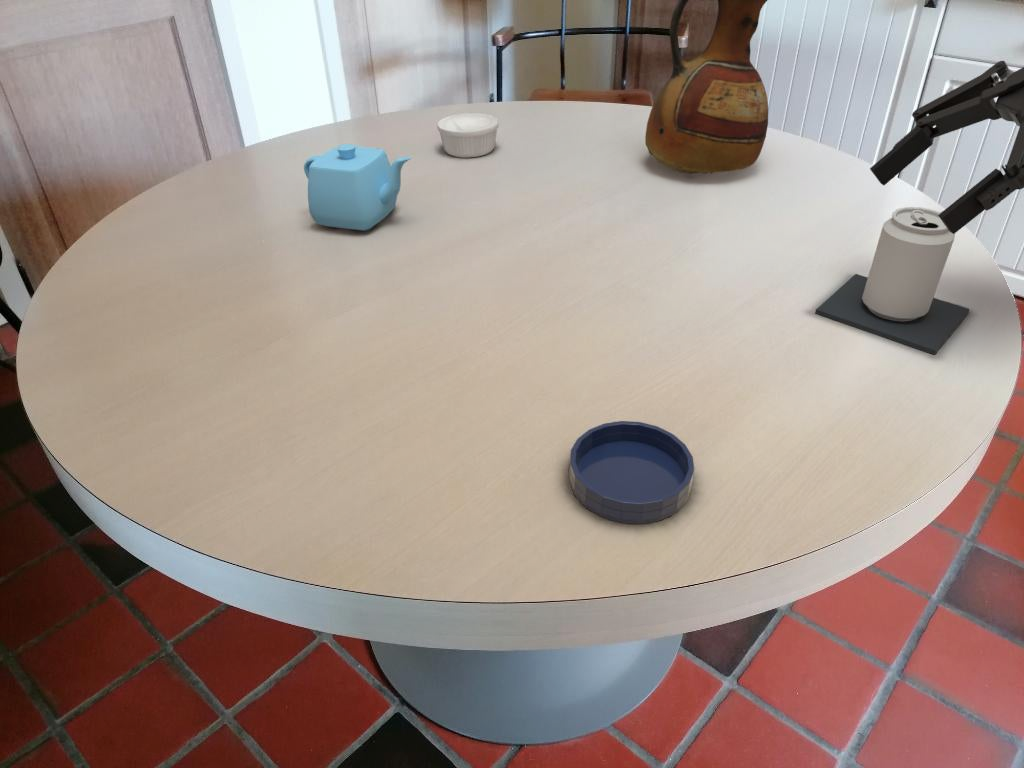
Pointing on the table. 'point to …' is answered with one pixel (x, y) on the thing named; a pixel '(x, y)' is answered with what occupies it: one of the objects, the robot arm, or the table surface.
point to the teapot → (352, 186)
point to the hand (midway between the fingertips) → (908, 199)
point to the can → (907, 264)
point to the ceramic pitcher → (712, 98)
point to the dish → (631, 472)
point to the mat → (915, 333)
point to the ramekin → (468, 134)
